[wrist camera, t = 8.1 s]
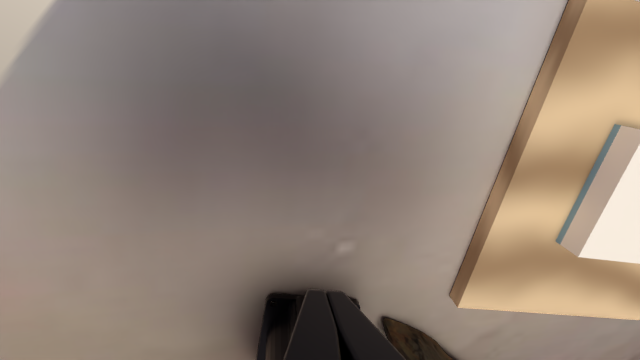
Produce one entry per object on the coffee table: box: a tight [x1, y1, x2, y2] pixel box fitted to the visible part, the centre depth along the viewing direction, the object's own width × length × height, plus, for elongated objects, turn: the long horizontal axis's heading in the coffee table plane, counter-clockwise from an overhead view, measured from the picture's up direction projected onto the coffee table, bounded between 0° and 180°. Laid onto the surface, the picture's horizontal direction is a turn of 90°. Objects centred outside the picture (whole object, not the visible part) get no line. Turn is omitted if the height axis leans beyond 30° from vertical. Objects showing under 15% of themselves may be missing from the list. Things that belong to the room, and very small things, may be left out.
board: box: [449, 0, 640, 320], centre depth 22 cm, size 20×16×1 cm
